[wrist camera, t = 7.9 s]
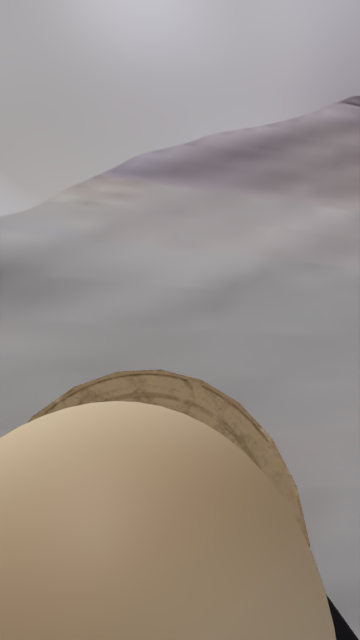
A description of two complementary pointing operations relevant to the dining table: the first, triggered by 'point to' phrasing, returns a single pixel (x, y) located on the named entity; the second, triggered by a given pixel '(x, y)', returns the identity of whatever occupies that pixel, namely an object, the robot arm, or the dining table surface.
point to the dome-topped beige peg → (147, 534)
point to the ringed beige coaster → (199, 405)
